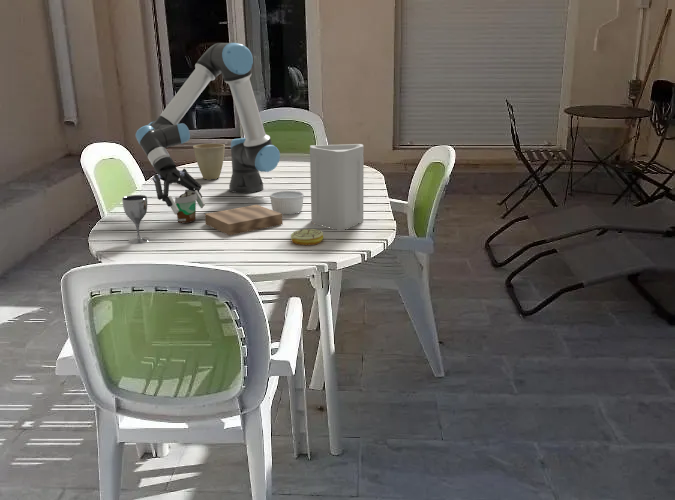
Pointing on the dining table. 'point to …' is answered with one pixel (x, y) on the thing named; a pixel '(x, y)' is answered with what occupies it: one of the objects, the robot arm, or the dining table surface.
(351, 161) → the white triangular vase
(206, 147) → the plant pot
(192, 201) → the food container
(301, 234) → the decorated donut
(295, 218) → the dining table surface
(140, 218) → the wine glass
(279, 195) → the ramekin
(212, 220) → the walnut stand
